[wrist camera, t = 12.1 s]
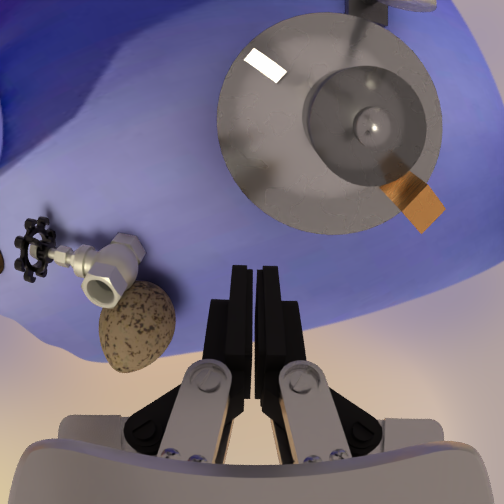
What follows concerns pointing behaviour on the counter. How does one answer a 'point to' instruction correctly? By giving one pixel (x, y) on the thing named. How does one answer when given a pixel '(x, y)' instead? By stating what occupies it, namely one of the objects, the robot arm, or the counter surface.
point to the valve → (83, 262)
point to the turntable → (292, 132)
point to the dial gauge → (385, 8)
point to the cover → (365, 124)
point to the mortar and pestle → (1, 264)
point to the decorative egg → (137, 327)
